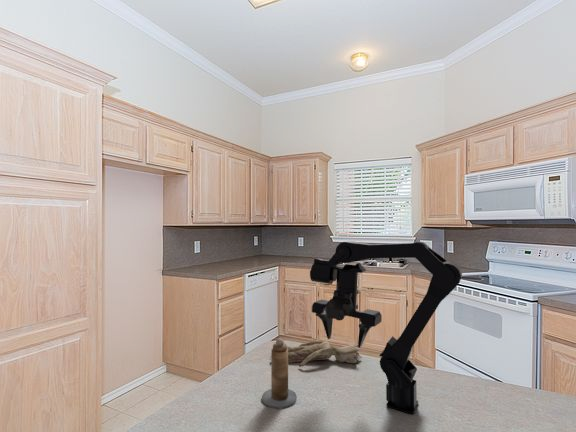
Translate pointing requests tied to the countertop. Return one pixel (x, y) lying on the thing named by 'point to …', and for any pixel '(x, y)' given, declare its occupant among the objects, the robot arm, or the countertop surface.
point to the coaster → (279, 404)
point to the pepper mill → (279, 371)
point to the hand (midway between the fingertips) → (343, 343)
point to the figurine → (322, 352)
